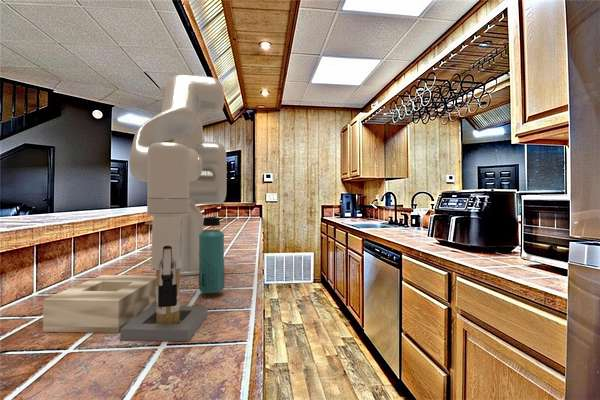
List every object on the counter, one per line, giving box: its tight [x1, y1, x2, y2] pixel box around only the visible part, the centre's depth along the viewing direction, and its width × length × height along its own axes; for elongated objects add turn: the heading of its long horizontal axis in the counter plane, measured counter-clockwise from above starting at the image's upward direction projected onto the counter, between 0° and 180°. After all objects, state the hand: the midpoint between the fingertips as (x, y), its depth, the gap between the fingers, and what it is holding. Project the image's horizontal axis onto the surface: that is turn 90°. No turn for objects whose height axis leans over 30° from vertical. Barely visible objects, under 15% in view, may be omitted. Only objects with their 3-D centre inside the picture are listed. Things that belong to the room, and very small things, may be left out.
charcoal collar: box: [119, 305, 209, 342], centre depth 64 cm, size 12×12×2 cm
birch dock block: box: [42, 274, 156, 334], centre depth 70 cm, size 18×14×6 cm
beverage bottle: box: [197, 216, 225, 294], centre depth 84 cm, size 6×7×20 cm
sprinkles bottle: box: [155, 259, 181, 324], centre depth 64 cm, size 5×5×14 cm
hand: (168, 300), depth 64 cm, fingers closed on sprinkles bottle, 4 cm apart
